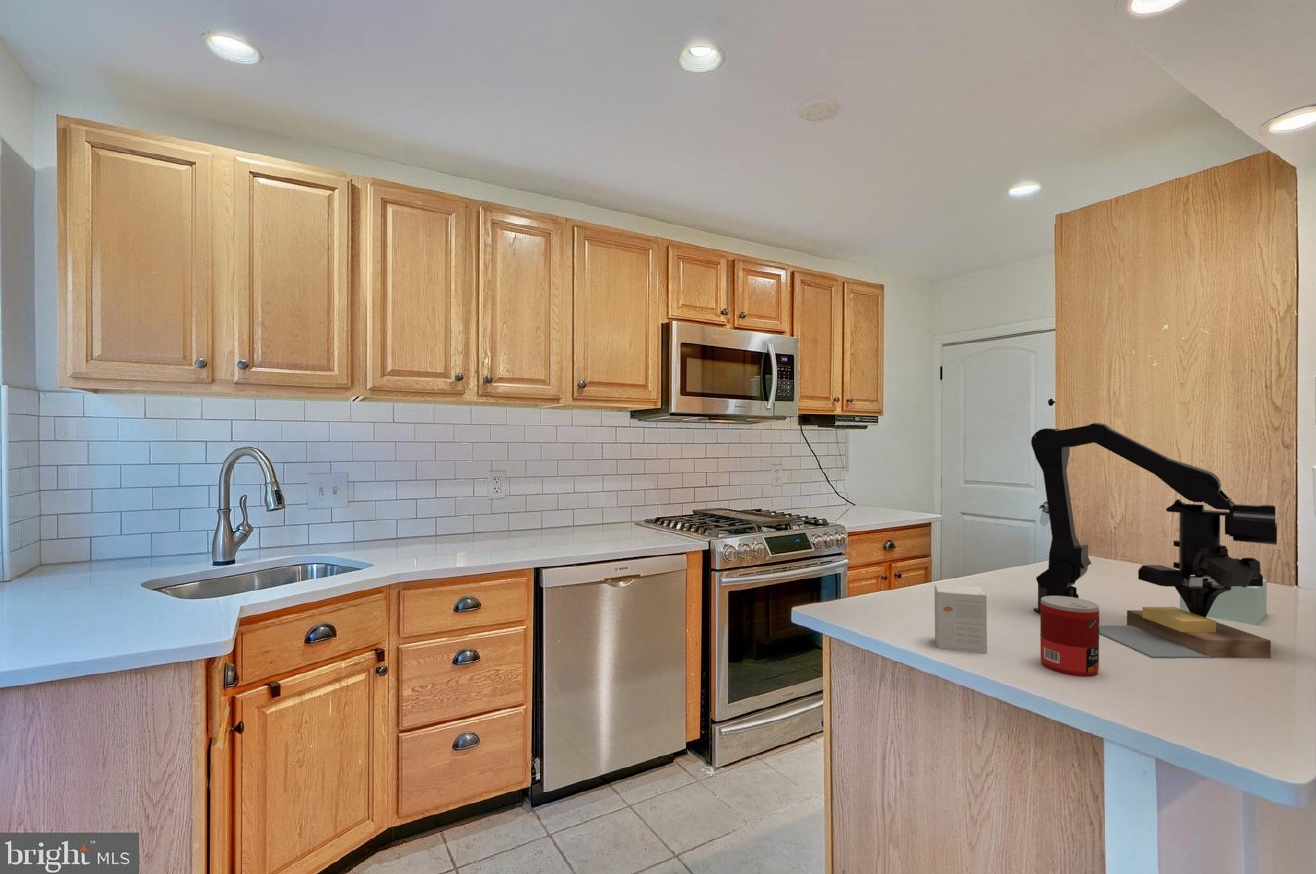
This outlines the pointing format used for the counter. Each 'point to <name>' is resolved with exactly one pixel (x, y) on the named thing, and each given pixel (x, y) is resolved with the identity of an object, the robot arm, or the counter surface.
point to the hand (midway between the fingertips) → (1199, 621)
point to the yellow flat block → (1179, 619)
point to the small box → (961, 618)
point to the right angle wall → (1239, 604)
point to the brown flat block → (1207, 639)
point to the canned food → (1069, 635)
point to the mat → (1147, 642)
